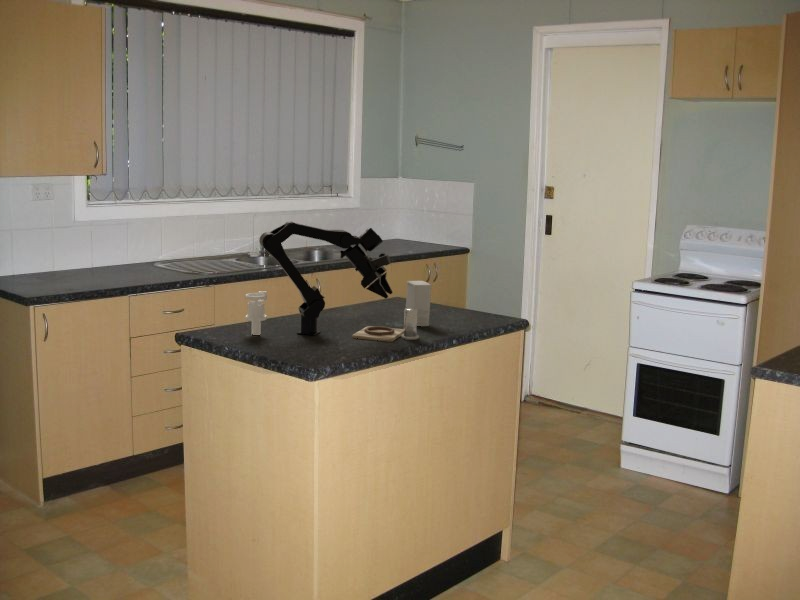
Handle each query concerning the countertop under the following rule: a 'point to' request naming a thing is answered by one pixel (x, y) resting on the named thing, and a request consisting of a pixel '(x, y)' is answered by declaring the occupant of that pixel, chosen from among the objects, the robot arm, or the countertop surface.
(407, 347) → the countertop surface
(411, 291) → the skincare box
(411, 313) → the aluminium hub pin
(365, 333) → the maple board
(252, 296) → the grey stepped cylinder
